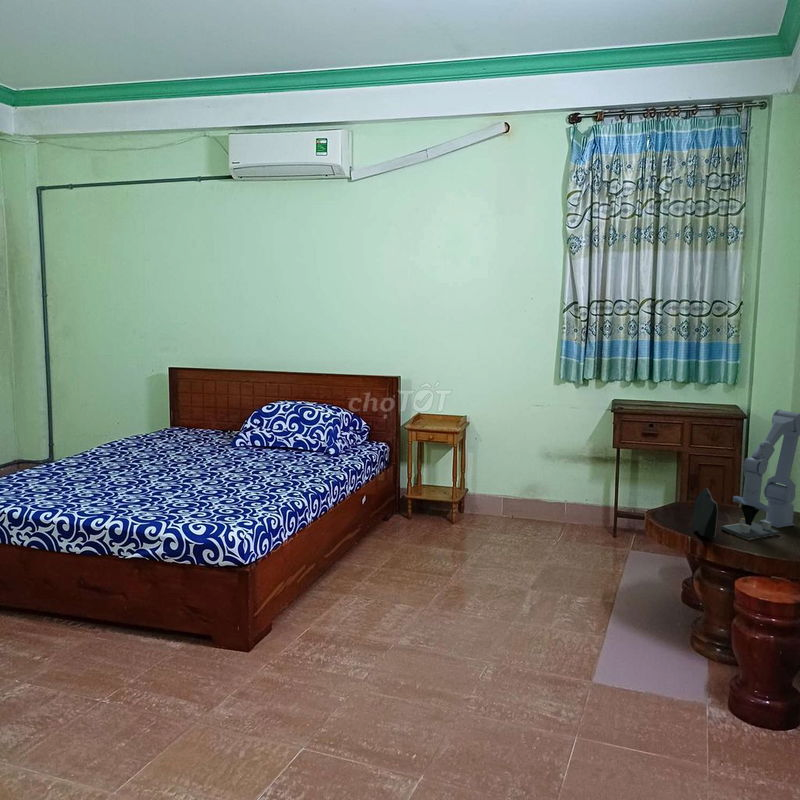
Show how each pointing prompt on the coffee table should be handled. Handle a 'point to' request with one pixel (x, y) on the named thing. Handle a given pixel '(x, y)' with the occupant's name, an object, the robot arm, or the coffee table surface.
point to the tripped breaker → (742, 521)
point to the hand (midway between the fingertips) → (748, 525)
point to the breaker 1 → (745, 528)
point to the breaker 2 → (766, 525)
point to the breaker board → (755, 531)
